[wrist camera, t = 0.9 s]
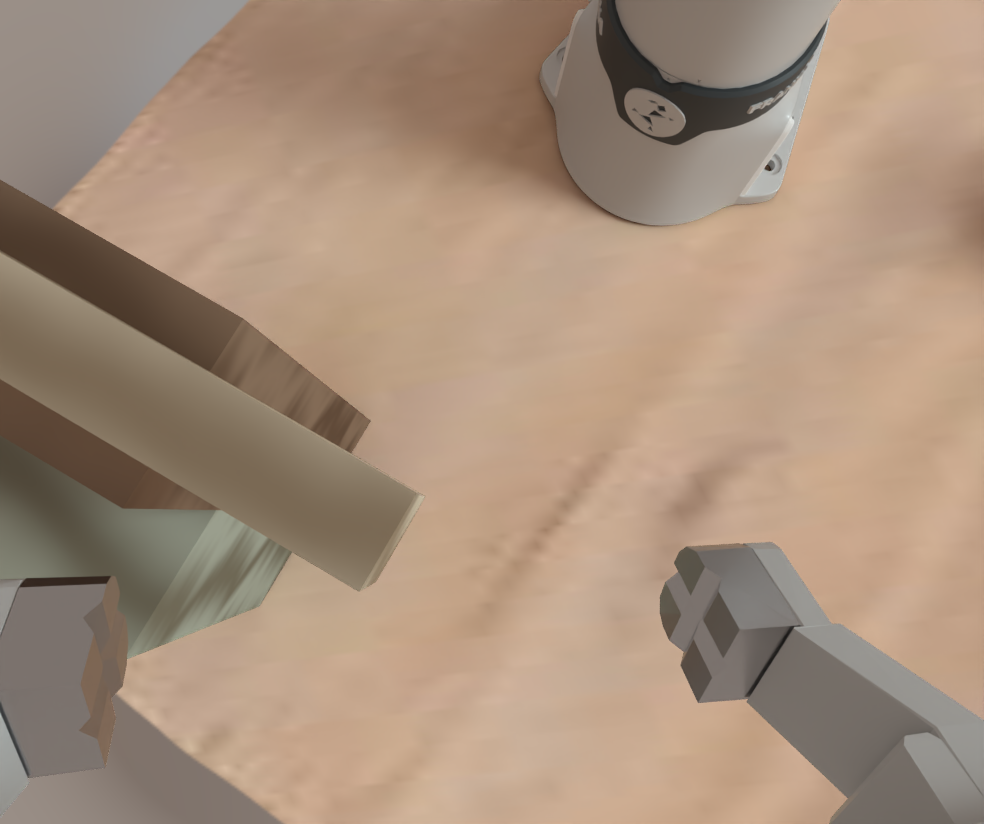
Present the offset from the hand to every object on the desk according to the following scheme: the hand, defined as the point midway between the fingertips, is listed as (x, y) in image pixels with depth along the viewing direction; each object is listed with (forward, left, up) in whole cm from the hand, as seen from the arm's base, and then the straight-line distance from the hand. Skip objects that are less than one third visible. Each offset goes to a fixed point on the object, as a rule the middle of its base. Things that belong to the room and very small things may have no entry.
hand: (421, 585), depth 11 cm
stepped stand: (+4, -17, -38) cm, 42 cm away
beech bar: (+1, -11, -12) cm, 16 cm away
